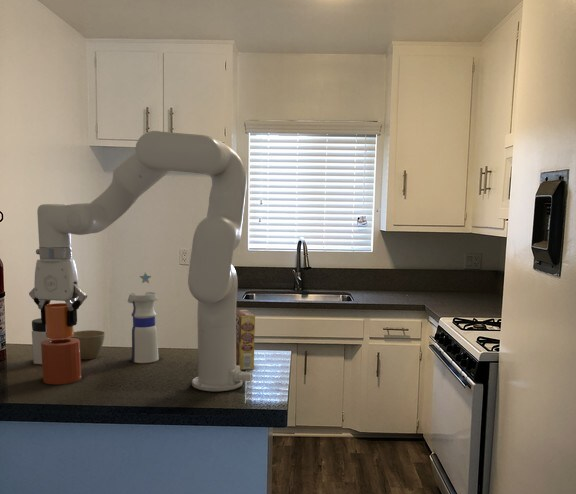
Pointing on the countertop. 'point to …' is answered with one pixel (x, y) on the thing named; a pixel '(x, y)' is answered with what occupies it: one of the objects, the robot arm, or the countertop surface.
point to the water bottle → (144, 326)
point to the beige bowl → (89, 343)
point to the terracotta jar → (61, 360)
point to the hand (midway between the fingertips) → (59, 324)
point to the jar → (38, 339)
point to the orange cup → (57, 321)
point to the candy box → (245, 339)
